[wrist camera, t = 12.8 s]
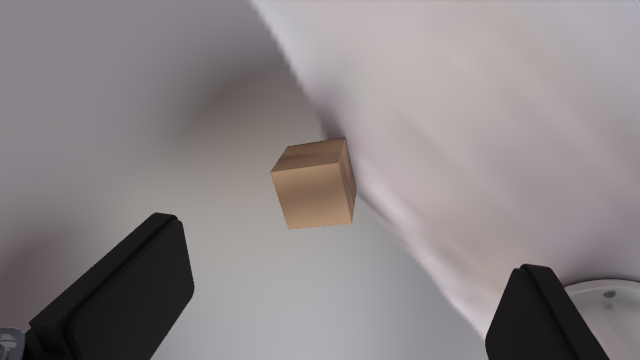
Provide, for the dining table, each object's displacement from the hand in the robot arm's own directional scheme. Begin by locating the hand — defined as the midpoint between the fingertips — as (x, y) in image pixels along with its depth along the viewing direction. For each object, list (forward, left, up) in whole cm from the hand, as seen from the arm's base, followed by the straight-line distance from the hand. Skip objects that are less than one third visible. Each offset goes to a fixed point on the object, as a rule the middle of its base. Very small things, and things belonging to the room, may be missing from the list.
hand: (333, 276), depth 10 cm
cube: (-5, +4, -18) cm, 19 cm away
